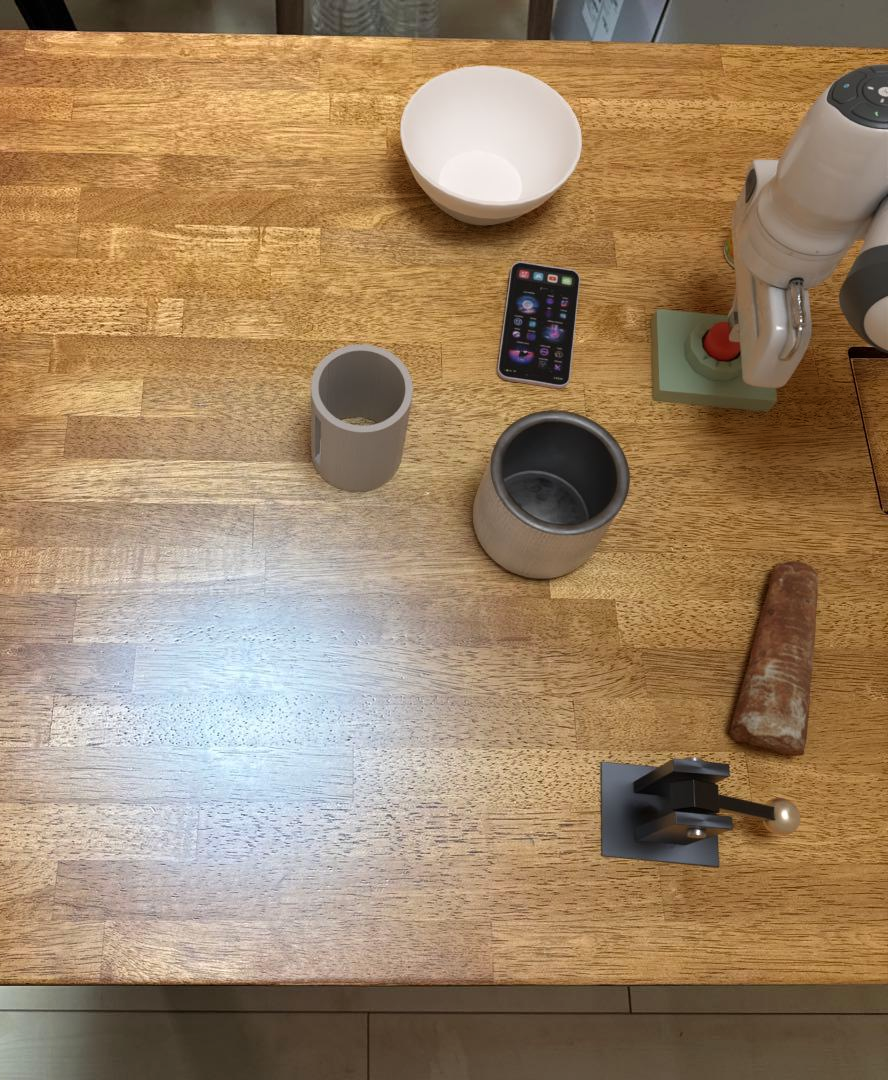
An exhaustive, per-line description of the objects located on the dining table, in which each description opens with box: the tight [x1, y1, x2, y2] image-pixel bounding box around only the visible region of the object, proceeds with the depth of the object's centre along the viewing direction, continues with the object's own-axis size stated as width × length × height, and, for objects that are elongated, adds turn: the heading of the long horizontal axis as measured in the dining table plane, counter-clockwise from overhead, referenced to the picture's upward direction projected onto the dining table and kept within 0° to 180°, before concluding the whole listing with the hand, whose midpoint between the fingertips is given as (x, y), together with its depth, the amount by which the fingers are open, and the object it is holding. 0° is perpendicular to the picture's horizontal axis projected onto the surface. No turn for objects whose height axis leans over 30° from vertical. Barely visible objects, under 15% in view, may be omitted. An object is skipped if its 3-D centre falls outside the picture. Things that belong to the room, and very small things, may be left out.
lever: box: [670, 779, 802, 836], centre depth 82 cm, size 13×3×3 cm, turn 85°
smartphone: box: [496, 261, 581, 389], centre depth 108 cm, size 8×1×15 cm
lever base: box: [599, 756, 734, 868], centre depth 83 cm, size 10×8×12 cm
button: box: [704, 322, 740, 361], centre depth 103 cm, size 4×4×2 cm
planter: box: [472, 409, 631, 580], centre depth 94 cm, size 12×12×11 cm
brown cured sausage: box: [729, 560, 819, 757], centre depth 92 cm, size 6×19×6 cm, turn 158°
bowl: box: [399, 65, 583, 227], centre depth 112 cm, size 19×19×8 cm
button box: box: [649, 308, 778, 413], centre depth 105 cm, size 12×10×4 cm
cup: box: [310, 343, 414, 493], centre depth 96 cm, size 9×9×12 cm
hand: (735, 330), depth 101 cm, fingers closed
